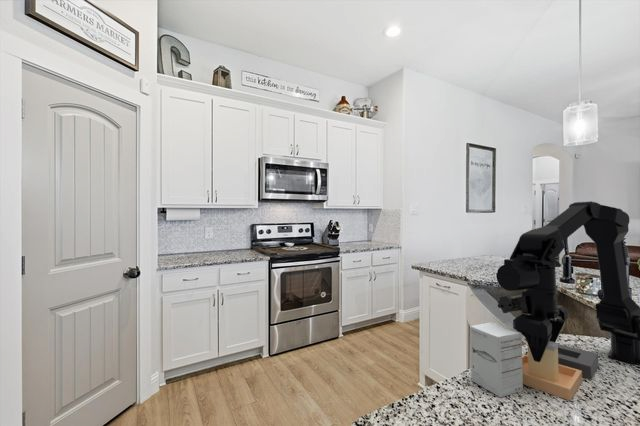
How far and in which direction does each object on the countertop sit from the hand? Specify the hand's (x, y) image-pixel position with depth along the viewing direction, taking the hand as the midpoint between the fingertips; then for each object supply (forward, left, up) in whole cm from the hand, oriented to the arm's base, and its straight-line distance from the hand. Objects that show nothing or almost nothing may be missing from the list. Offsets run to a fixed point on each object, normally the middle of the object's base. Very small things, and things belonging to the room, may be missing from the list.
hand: (543, 355), depth 68 cm
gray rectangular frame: (-13, +1, -6) cm, 14 cm away
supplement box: (+11, -6, -6) cm, 14 cm away
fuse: (0, 0, -5) cm, 5 cm away
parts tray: (0, 0, -6) cm, 6 cm away
